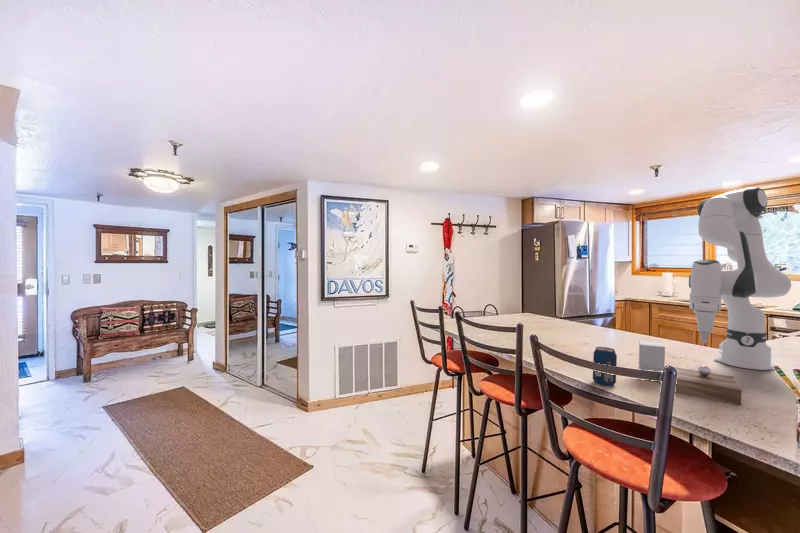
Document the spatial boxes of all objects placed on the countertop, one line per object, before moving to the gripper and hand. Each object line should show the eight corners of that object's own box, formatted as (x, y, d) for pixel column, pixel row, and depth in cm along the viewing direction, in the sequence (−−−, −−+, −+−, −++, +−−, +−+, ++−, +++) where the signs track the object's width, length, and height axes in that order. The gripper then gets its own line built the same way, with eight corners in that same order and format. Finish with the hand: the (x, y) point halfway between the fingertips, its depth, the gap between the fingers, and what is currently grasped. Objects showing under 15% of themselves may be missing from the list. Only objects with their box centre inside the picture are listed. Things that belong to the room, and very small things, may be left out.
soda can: (601, 379, 130) (602, 345, 130) (620, 385, 124) (621, 350, 124) (588, 381, 127) (589, 347, 127) (606, 388, 121) (608, 352, 121)
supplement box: (662, 377, 134) (663, 342, 133) (664, 383, 127) (665, 346, 127) (637, 373, 138) (639, 340, 137) (638, 379, 131) (640, 344, 131)
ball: (697, 373, 130) (697, 363, 130) (710, 375, 128) (710, 365, 128) (697, 376, 128) (698, 366, 128) (710, 378, 126) (711, 368, 125)
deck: (675, 374, 138) (676, 362, 138) (733, 383, 128) (733, 370, 128) (673, 392, 119) (674, 378, 119) (740, 405, 109) (741, 390, 109)
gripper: (693, 302, 143) (692, 337, 143) (694, 305, 127) (692, 345, 127) (714, 303, 139) (713, 339, 139) (718, 307, 123) (717, 348, 123)
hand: (703, 342), depth 133 cm, fingers closed
